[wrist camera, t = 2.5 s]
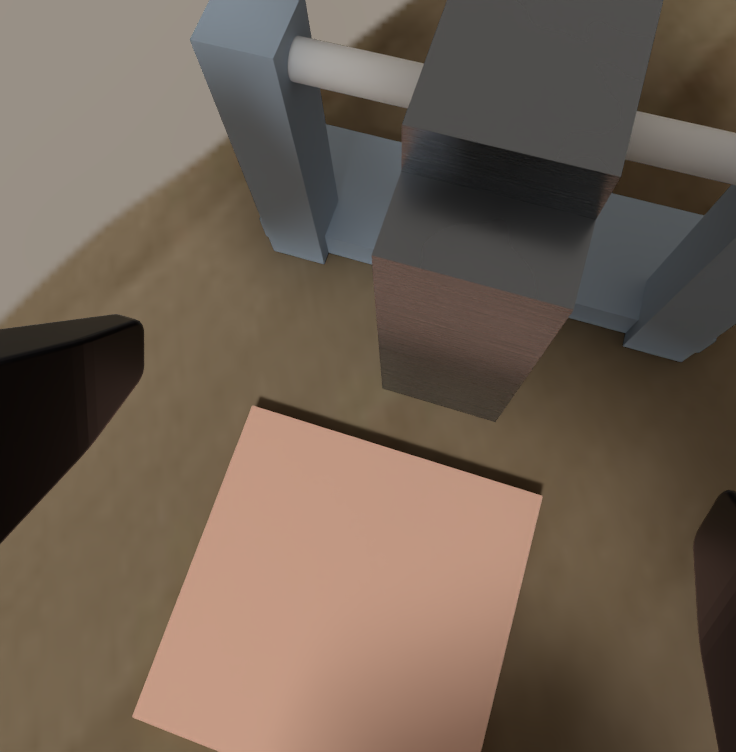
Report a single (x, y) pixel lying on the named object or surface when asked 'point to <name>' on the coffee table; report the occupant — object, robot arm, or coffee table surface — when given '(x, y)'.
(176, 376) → the coffee table surface
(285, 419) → the terracotta mat
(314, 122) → the rail stand
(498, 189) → the gray block
